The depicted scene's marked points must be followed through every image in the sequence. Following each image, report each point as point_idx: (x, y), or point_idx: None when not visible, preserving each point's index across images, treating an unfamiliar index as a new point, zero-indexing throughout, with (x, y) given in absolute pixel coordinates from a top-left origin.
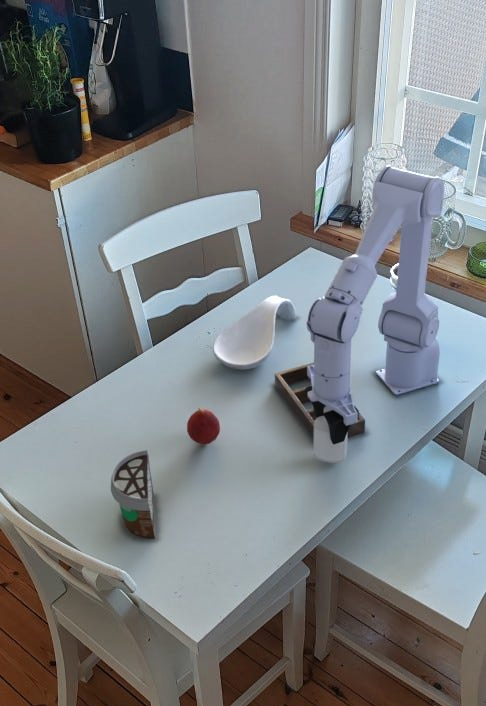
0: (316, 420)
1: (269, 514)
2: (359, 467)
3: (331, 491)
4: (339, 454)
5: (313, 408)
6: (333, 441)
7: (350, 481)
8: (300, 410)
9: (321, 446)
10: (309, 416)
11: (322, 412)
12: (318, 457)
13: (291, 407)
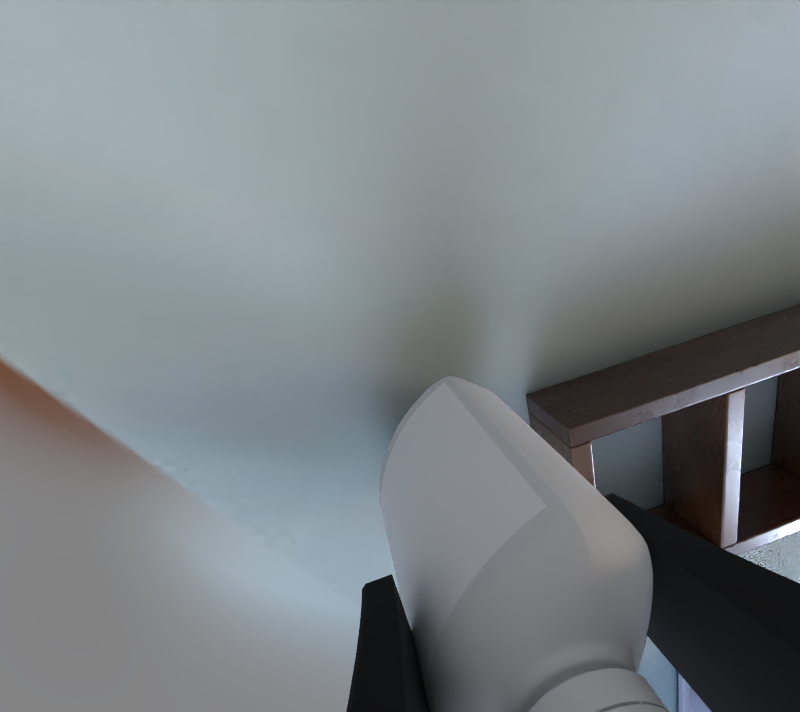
0: (615, 558)
1: (33, 30)
2: (372, 533)
3: (231, 415)
4: (386, 520)
5: (780, 578)
6: (361, 617)
7: (291, 496)
8: (755, 358)
9: (437, 457)
10: (702, 397)
11: (691, 618)
12: (424, 399)
13: (781, 314)
